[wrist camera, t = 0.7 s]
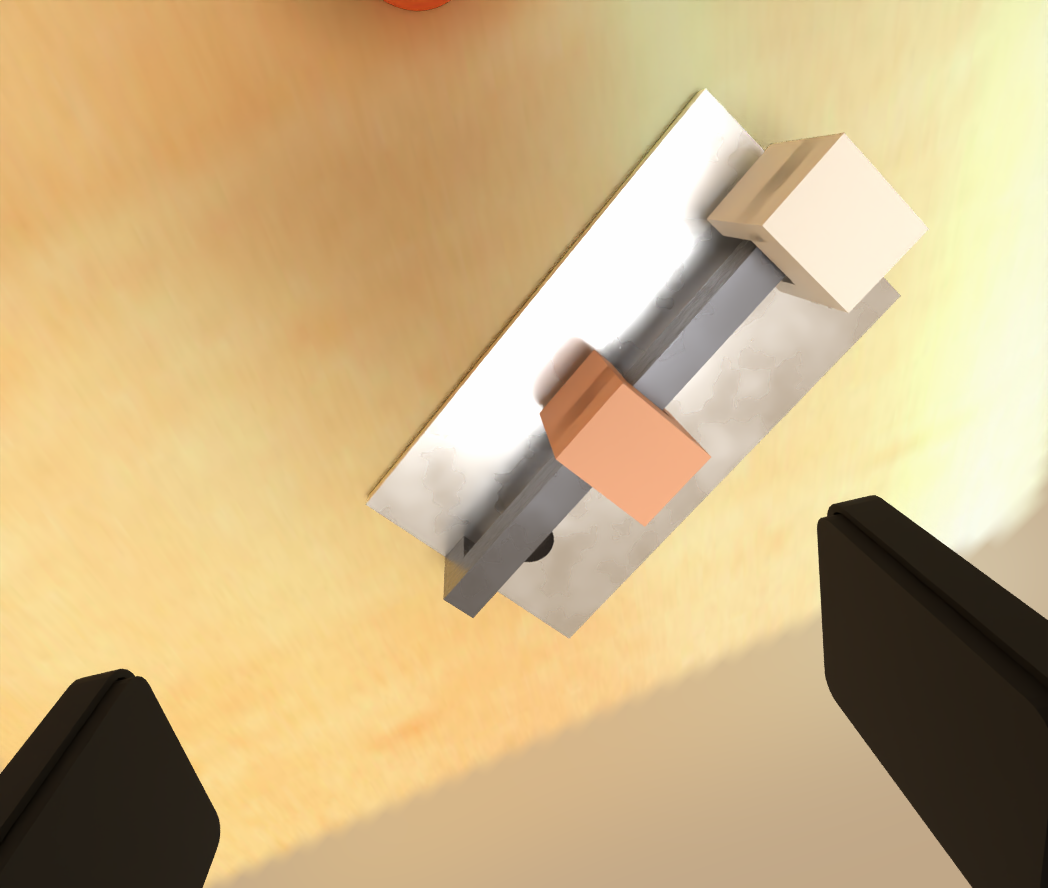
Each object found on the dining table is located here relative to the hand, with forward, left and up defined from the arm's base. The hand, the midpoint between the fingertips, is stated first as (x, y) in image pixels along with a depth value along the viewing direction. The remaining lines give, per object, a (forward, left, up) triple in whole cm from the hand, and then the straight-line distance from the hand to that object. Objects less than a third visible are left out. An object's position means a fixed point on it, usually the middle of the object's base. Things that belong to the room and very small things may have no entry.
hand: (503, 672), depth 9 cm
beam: (-2, +7, -25) cm, 26 cm away
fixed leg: (-13, +7, -24) cm, 28 cm away
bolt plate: (-2, +8, -25) cm, 27 cm away
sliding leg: (-1, +7, -24) cm, 25 cm away
